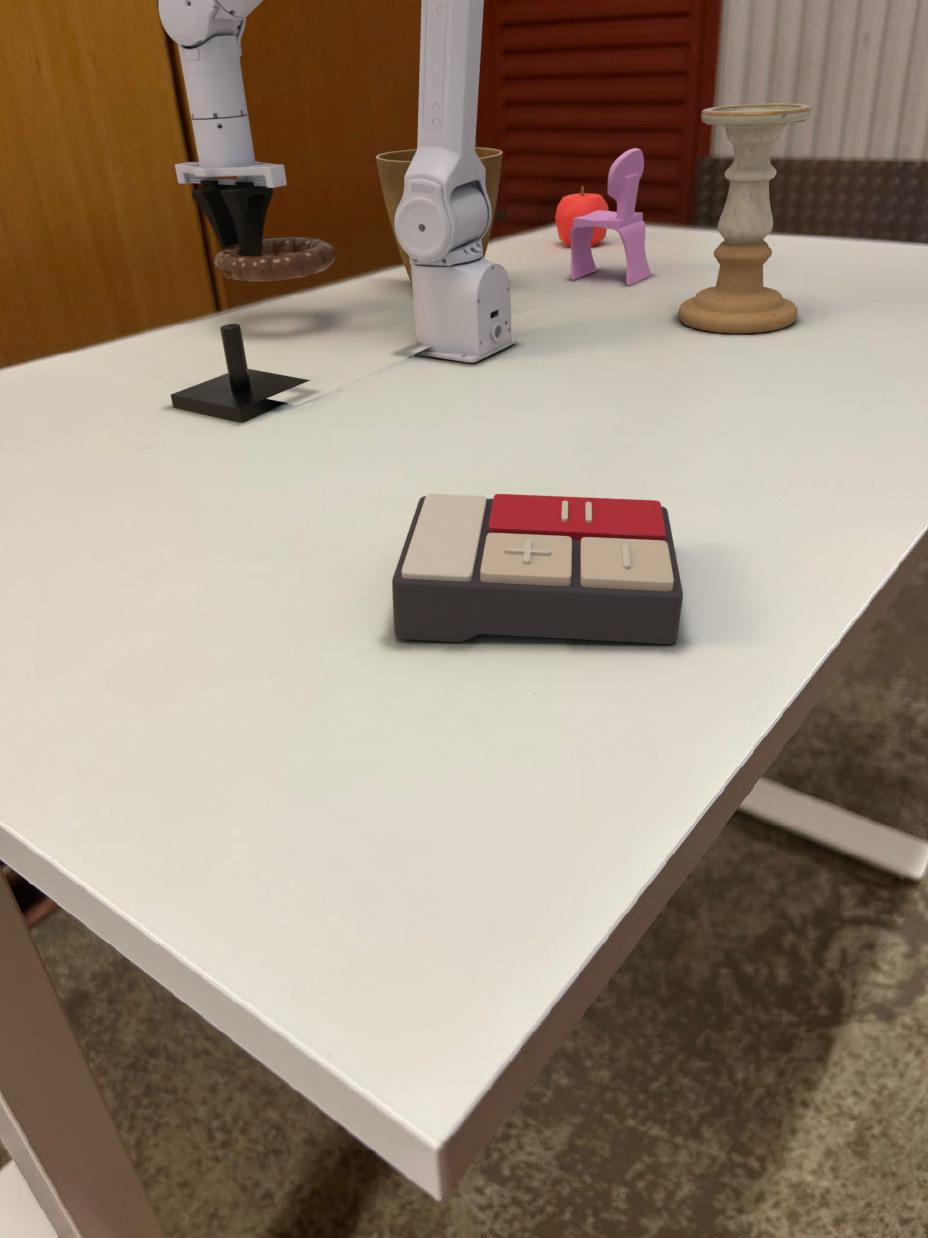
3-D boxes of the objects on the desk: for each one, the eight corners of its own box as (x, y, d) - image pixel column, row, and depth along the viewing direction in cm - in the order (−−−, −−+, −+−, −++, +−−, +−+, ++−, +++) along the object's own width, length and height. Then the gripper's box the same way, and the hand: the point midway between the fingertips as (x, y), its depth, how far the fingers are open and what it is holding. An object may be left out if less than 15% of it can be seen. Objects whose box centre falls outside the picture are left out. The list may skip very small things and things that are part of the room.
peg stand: (312, 392, 89) (302, 319, 86) (241, 422, 83) (227, 345, 79) (244, 379, 94) (232, 309, 90) (172, 407, 88) (156, 333, 84)
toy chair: (595, 268, 128) (597, 143, 120) (655, 273, 124) (661, 144, 116) (563, 281, 123) (563, 151, 115) (625, 287, 118) (629, 152, 110)
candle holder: (667, 331, 100) (680, 114, 90) (689, 302, 110) (703, 104, 99) (789, 337, 96) (818, 111, 86) (801, 307, 106) (828, 100, 95)
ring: (358, 262, 104) (356, 239, 102) (277, 287, 95) (274, 262, 94) (276, 254, 110) (273, 232, 109) (194, 277, 102) (189, 253, 100)
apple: (552, 250, 140) (552, 191, 136) (557, 240, 147) (557, 183, 142) (607, 249, 139) (609, 189, 134) (609, 238, 145) (611, 181, 141)
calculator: (686, 584, 48) (389, 569, 49) (676, 655, 50) (392, 639, 51) (668, 493, 57) (419, 483, 58) (661, 557, 59) (421, 545, 61)
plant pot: (419, 313, 112) (408, 163, 104) (370, 291, 124) (356, 154, 115) (528, 294, 118) (526, 150, 109) (471, 274, 129) (465, 142, 121)
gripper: (142, 120, 99) (170, 259, 106) (240, 120, 91) (263, 269, 98) (195, 114, 103) (218, 247, 110) (292, 113, 96) (310, 255, 103)
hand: (243, 256), depth 105 cm, fingers closed on ring, 2 cm apart
